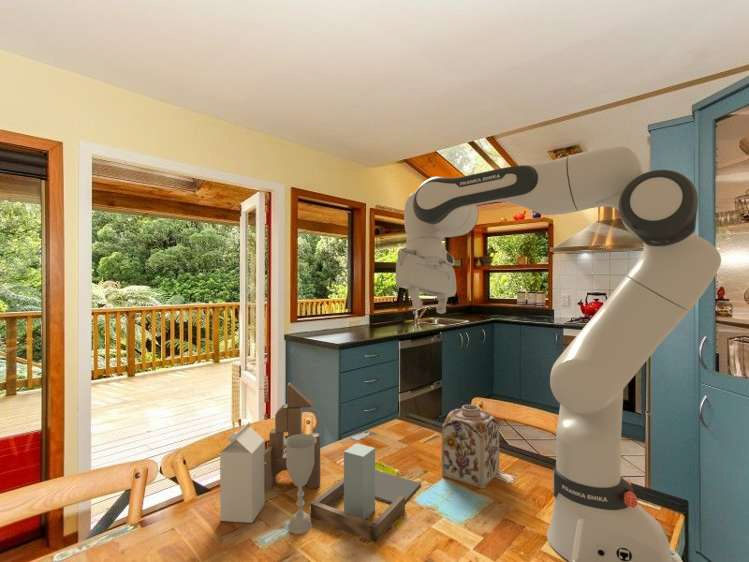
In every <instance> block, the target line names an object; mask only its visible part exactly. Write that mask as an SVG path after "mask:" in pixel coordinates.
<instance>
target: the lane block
mask: <svg viewBox="0 0 749 562" xmlns="http://www.w3.org/2000/svg"><path fill="white" fill-rule="evenodd" d="M375 470H376V448H375V447H374V446H368V445H365V444H361V443H358V442H357V443H354V444H353V445H351V446H350V447H349V448H347V449H346V450H344V451H343V479H344V495H343V512H346V513H349V514H351V515H354V516H357V517H359V518H362V519H365V520H367V519H368V518H369V517H370V516H371V515H372V514H373V512H375V511H376V498H375Z"/></svg>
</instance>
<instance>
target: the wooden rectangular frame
mask: <svg viewBox="0 0 749 562" xmlns="http://www.w3.org/2000/svg"><path fill="white" fill-rule="evenodd" d="M342 497H344V478H342V479H341V480H340V481H338V482H337V483H336V484H334V485H333V486H332V487H330V488H329V489H327V490H326V491H325V492H324V493H322V494H321V495H320V496H318V497H317V498H316V499H315V500H313V501H312V502H310V518H312V519H314V520H317V521H319V522H322V523H325V524H327V525H329V526H332V527H334V528H336V529H340V530H342V531H345V532H347V533H349V534H352V535H354V536H357V537H359V538H362V539H364V540H367V541H370V542H372V543H375V544H376V543H377V542H378V541H379V540H380V538H381V537H382V536H383V535H384V534H385V533H386V531H388V529H389V528H390V527H391V526H392V525H393V523H394V522H395V521H397V519H398V518H399V517H400V516H401V515H402V514H403V513H404V512H405V510H406V502H405V496H402V495H400V496H399V497H398V498H397V499H396V500H395V501H394V502H393V503H392V504H391V503H390V505H389V506H388V507H386V509H385V510H384V511H383V512H382V513H381V514H380V515H379V516H378V517H377V518H376V519H375V520H374V521H373V522H372V521H370V520H367V519H362V518H359V517H357V516H354V515H351V514H349V513H346V512H344V510H340V509H338V508H335V507H332V505H334V504H335V503H336V502H337V501H339V500H340V499H341V498H342Z"/></svg>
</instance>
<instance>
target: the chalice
mask: <svg viewBox="0 0 749 562" xmlns="http://www.w3.org/2000/svg"><path fill="white" fill-rule="evenodd" d="M316 441H317V439H316V438H315V437H314V436H312V435H309V433H303V434H297V435H292V436H290V437H288V436H287V437H286V438H284V448H285V453H286V467H287V470H286V471H287V473H288V476H289V477H290V479H291V481H292V483H293V485H294V486H295V487H297V488H298V489H297V493H296V496H297V501H296V505H297V508H298V509H297V511H296V512H295V513H294V514H293V515H292V517H291V519H290V522H289V524H288V529H287V530H288V531H289V532H291V533H292V534H294V535H295V534H296V535H301V534H305V533H308V532H309V531H311V529H312V528H313V522H312V519H311V517H310V515H309V513H307V512H306V511H304V509H303V508H304V505H305V501H304V499H303V498H304V495H305V492H304V490H303V487H304V486H306V485H307V482H308V479H309V477H310V475H311V473H312V470H313V466H314V445H315V443H316Z"/></svg>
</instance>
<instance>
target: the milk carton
mask: <svg viewBox="0 0 749 562" xmlns="http://www.w3.org/2000/svg"><path fill="white" fill-rule="evenodd" d="M227 440H228V442H230V443H229V444H227V445H226V446H225V447H224V448H223V449H222V450H221V451H220V452H219V476H220V477H219V479H220V480H219V483H220V484H219V493H220V494H219V495H220V496H219V497H220V499H219V506H220V510H219V512H220V513H219V515H220V516H219V517H220V519H219V520H220V521H221V522H230V523H231V522H232V523H247V524H248V523H249V524H250V523H251V524H253V522H254V521H255V520H256V518H257V516H258V515H259V513H260V512H261V511H262V509H263V507H264V506H265V490H264V450H265V439H264V438H263V437H262V436H261V435H260V434H258V433H257V432H256V431H255V430H254V429H253V428H252V427H251V422H247V423H246V424H245V425H244V426H242V427H241V428H240V429H239V430H238V431H234V432H233V433H231V435H230V436H228V437H227Z"/></svg>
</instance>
